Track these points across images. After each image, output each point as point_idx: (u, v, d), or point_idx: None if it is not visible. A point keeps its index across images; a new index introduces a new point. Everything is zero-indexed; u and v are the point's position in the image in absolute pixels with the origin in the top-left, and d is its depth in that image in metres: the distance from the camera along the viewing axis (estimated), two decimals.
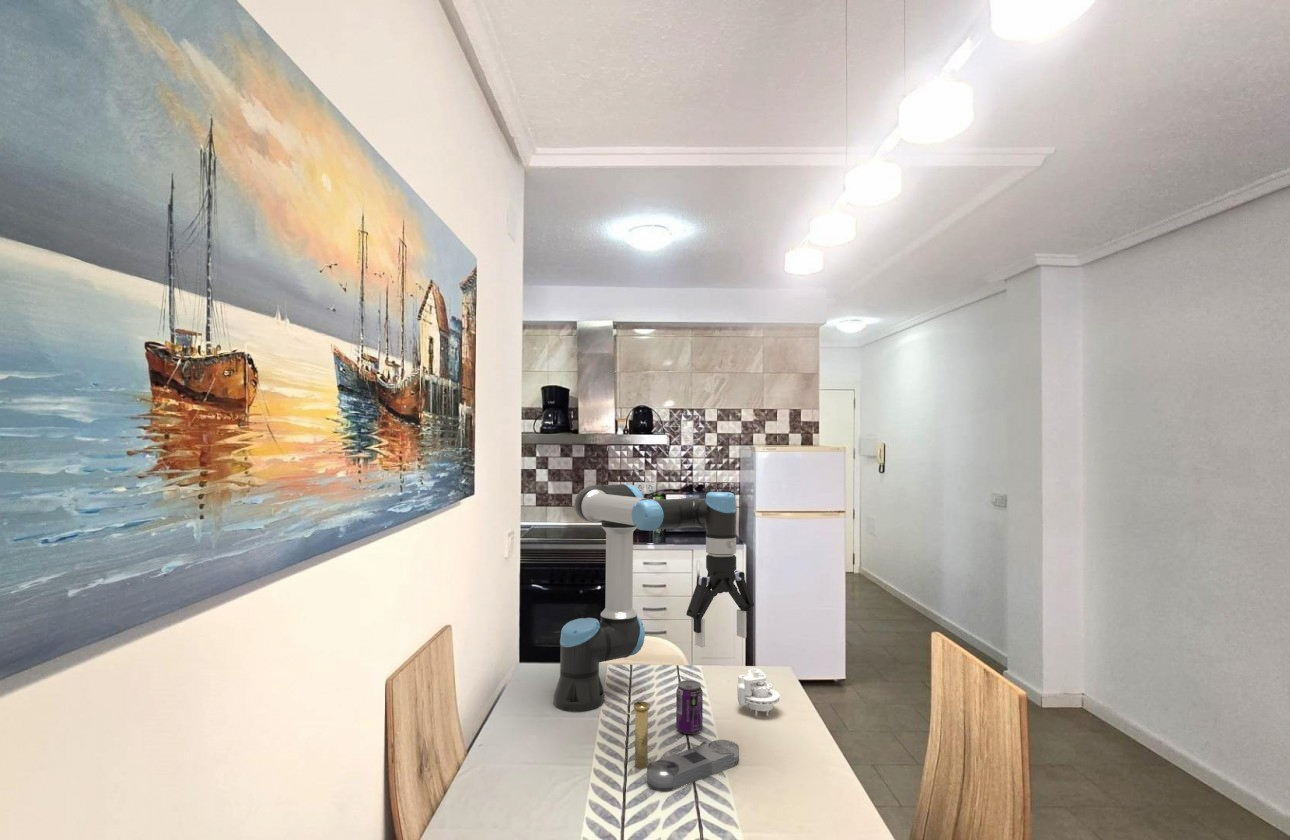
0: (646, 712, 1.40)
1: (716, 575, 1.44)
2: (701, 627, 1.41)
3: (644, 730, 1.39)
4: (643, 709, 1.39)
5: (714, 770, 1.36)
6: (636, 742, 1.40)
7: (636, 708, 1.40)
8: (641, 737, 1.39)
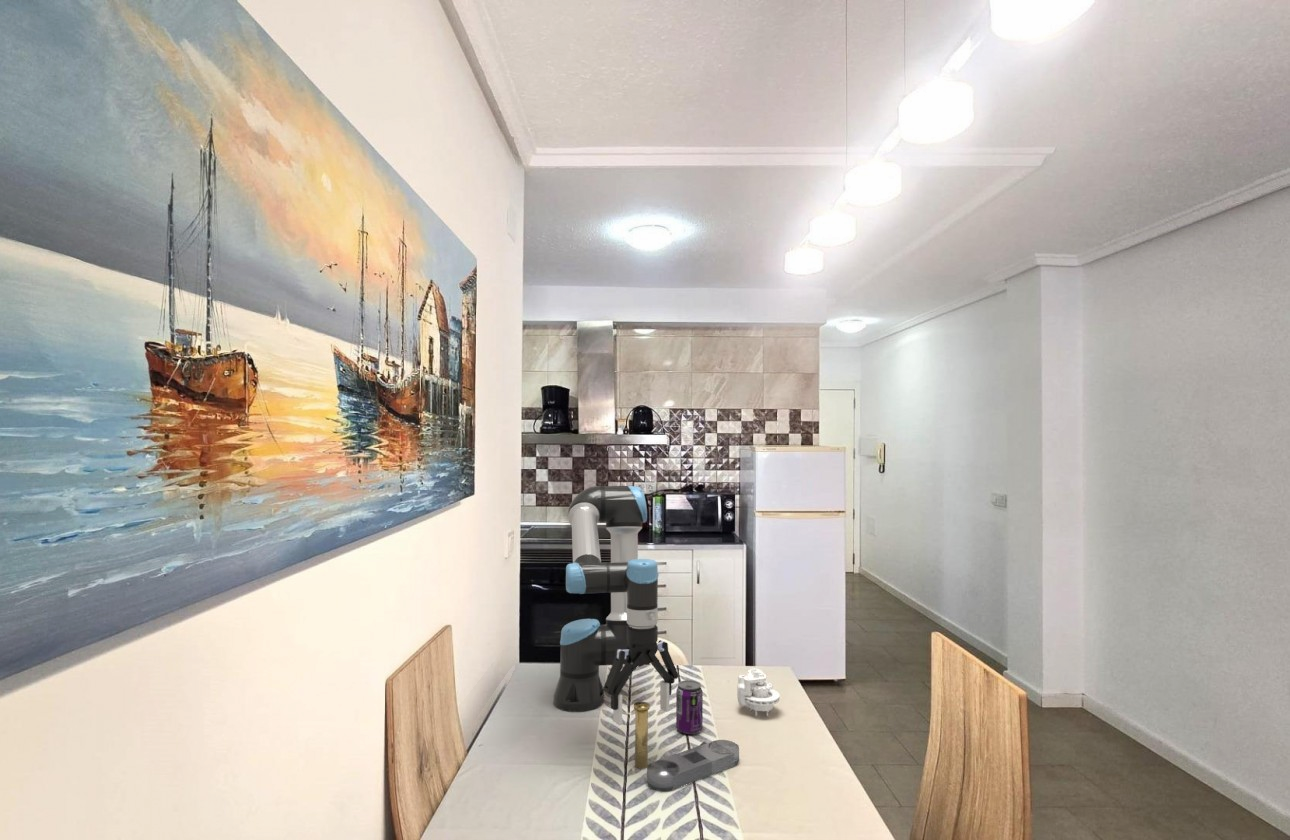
0: (646, 712, 1.40)
1: (635, 648, 1.40)
2: (618, 704, 1.36)
3: (644, 730, 1.39)
4: (643, 709, 1.39)
5: (714, 770, 1.36)
6: (636, 742, 1.40)
7: (636, 708, 1.40)
8: (641, 737, 1.39)
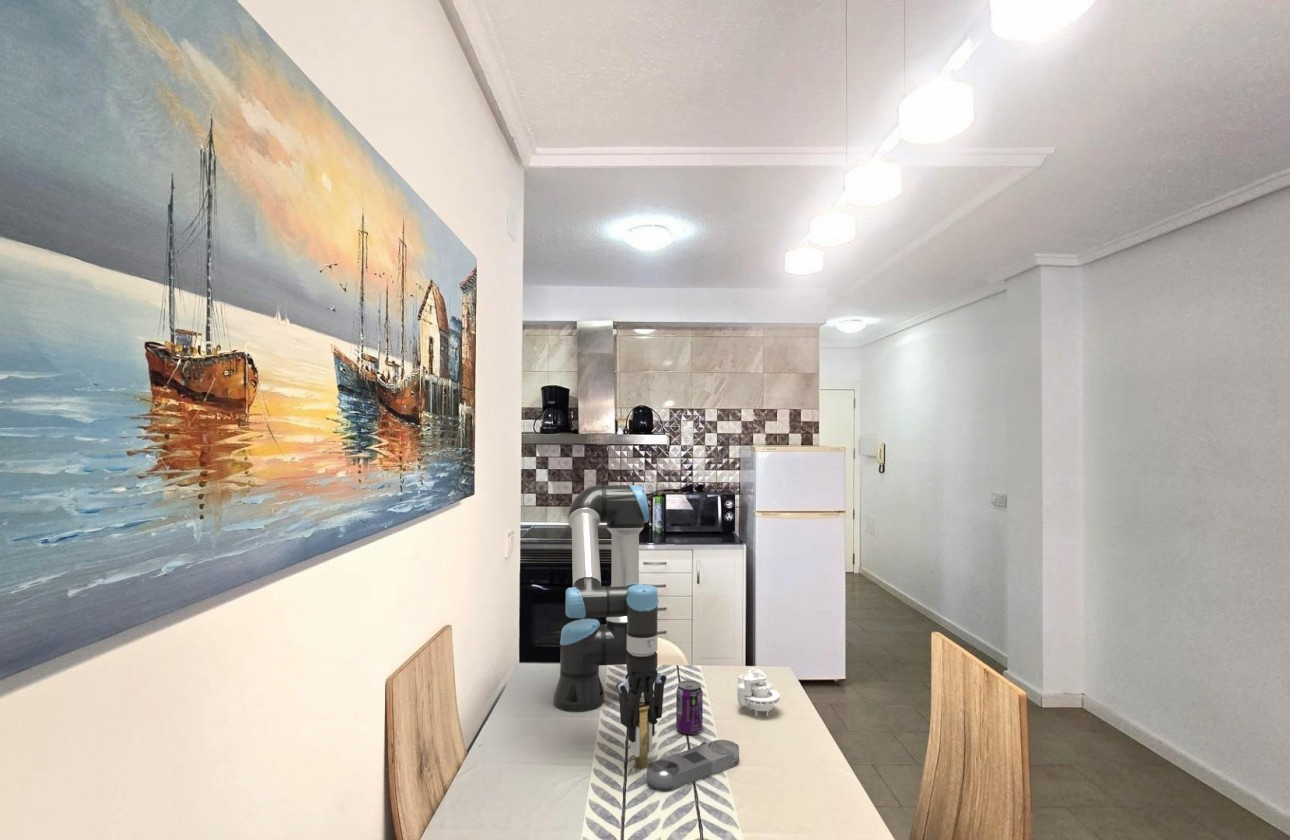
0: (646, 712, 1.40)
1: (633, 675, 1.39)
2: (635, 736, 1.39)
3: (644, 730, 1.39)
4: (643, 709, 1.39)
5: (714, 770, 1.36)
6: None
7: None
8: (641, 737, 1.39)
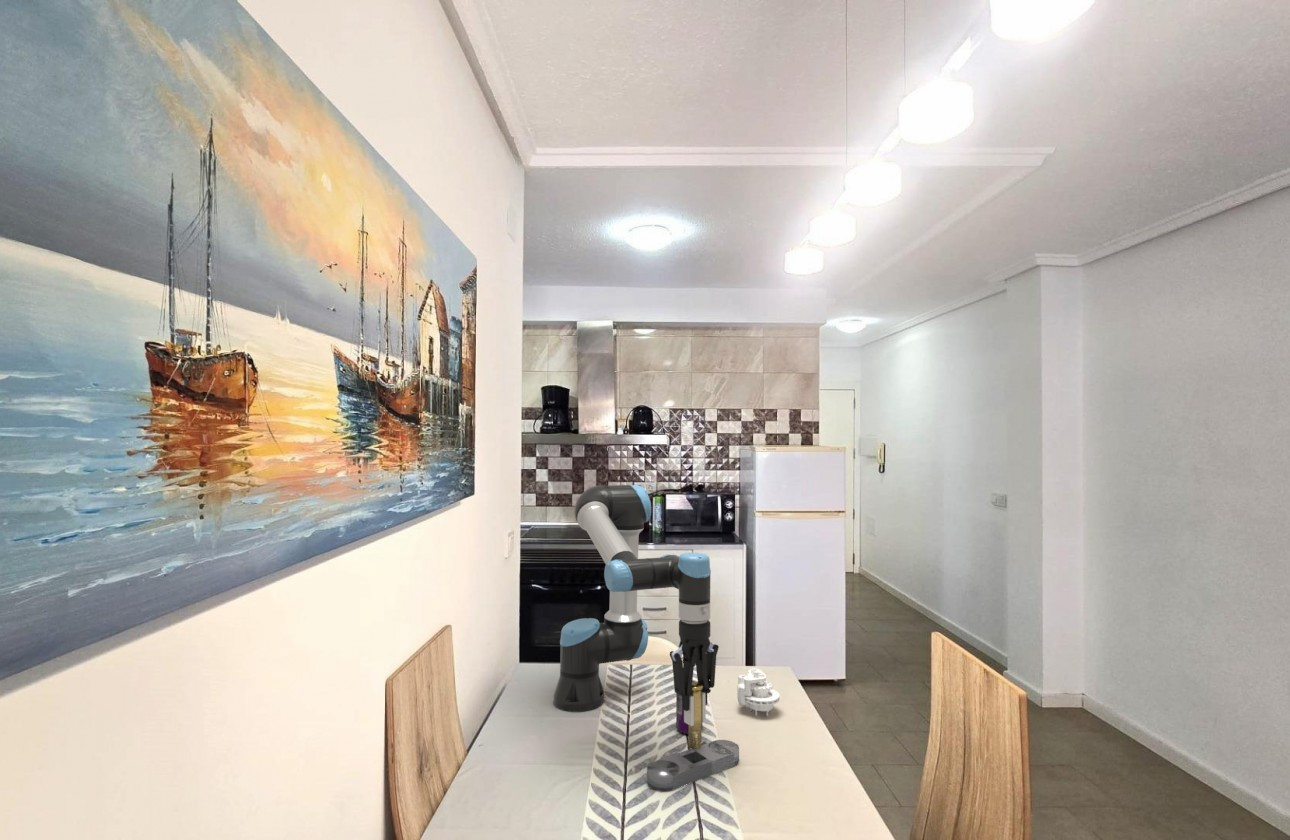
0: (700, 692, 1.38)
1: (687, 643, 1.37)
2: (690, 705, 1.37)
3: (698, 711, 1.37)
4: (697, 689, 1.37)
5: (714, 770, 1.36)
6: None
7: None
8: (695, 717, 1.37)
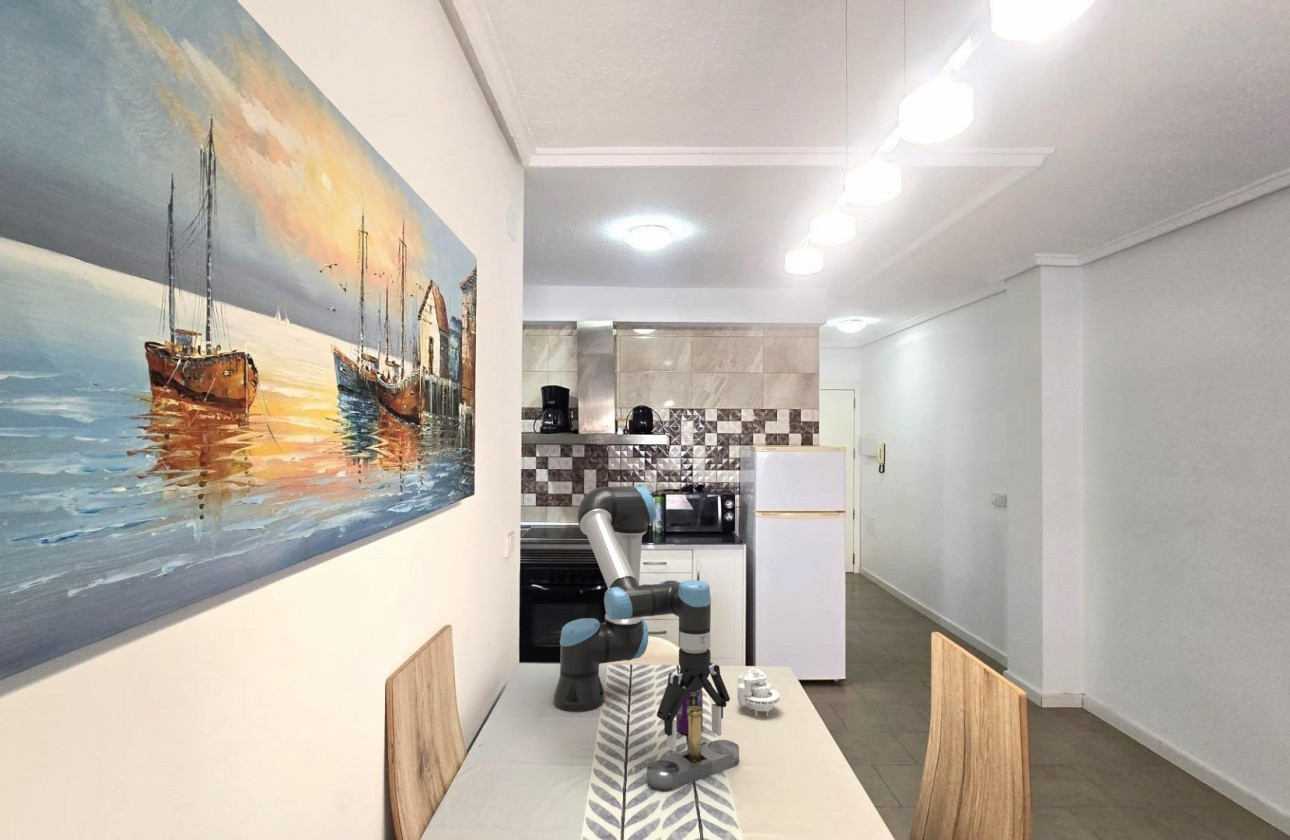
0: (700, 717, 1.38)
1: (689, 672, 1.37)
2: (672, 729, 1.34)
3: (698, 736, 1.37)
4: (697, 714, 1.37)
5: (714, 770, 1.36)
6: (690, 747, 1.37)
7: (690, 713, 1.37)
8: (695, 742, 1.37)
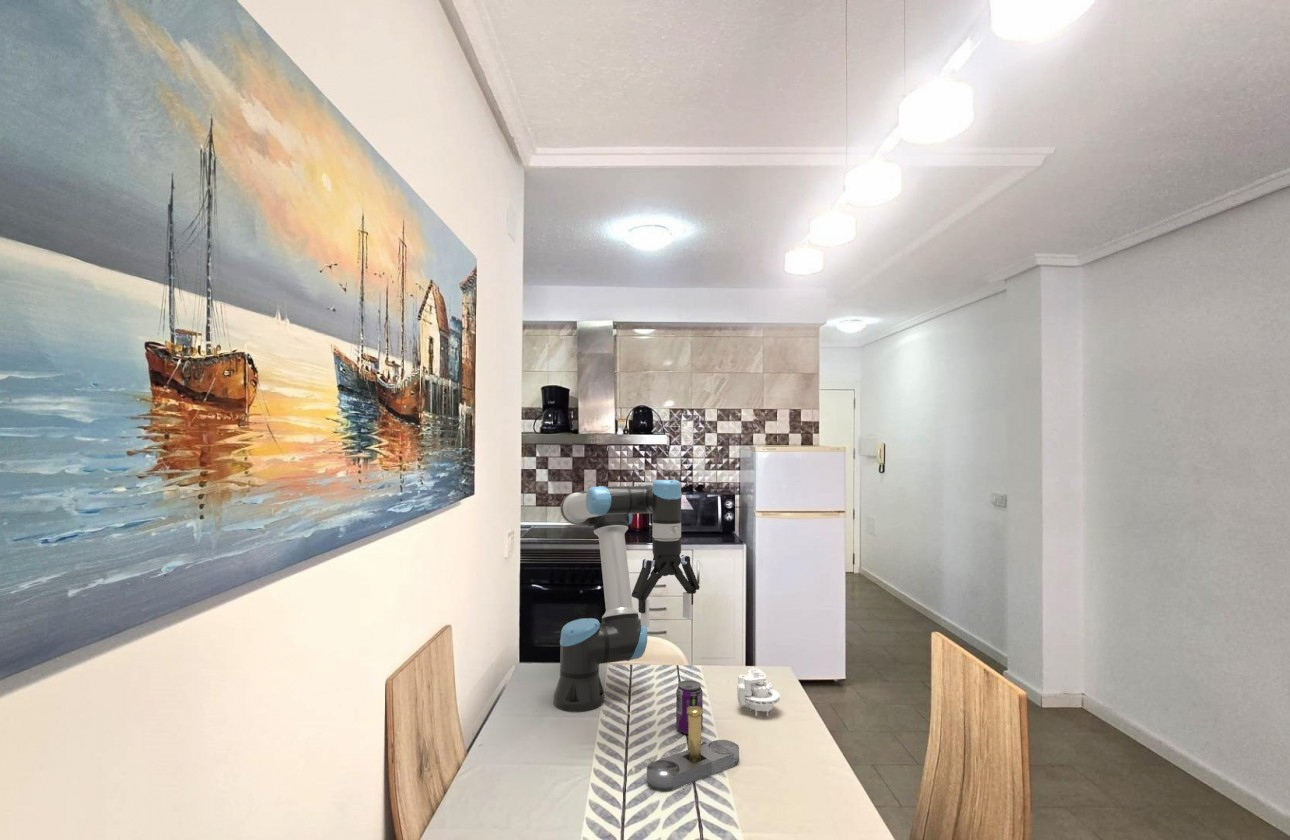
0: (700, 717, 1.38)
1: (661, 558, 1.51)
2: (645, 608, 1.48)
3: (698, 736, 1.37)
4: (697, 714, 1.37)
5: (714, 770, 1.36)
6: (690, 747, 1.37)
7: (690, 713, 1.37)
8: (695, 742, 1.37)
